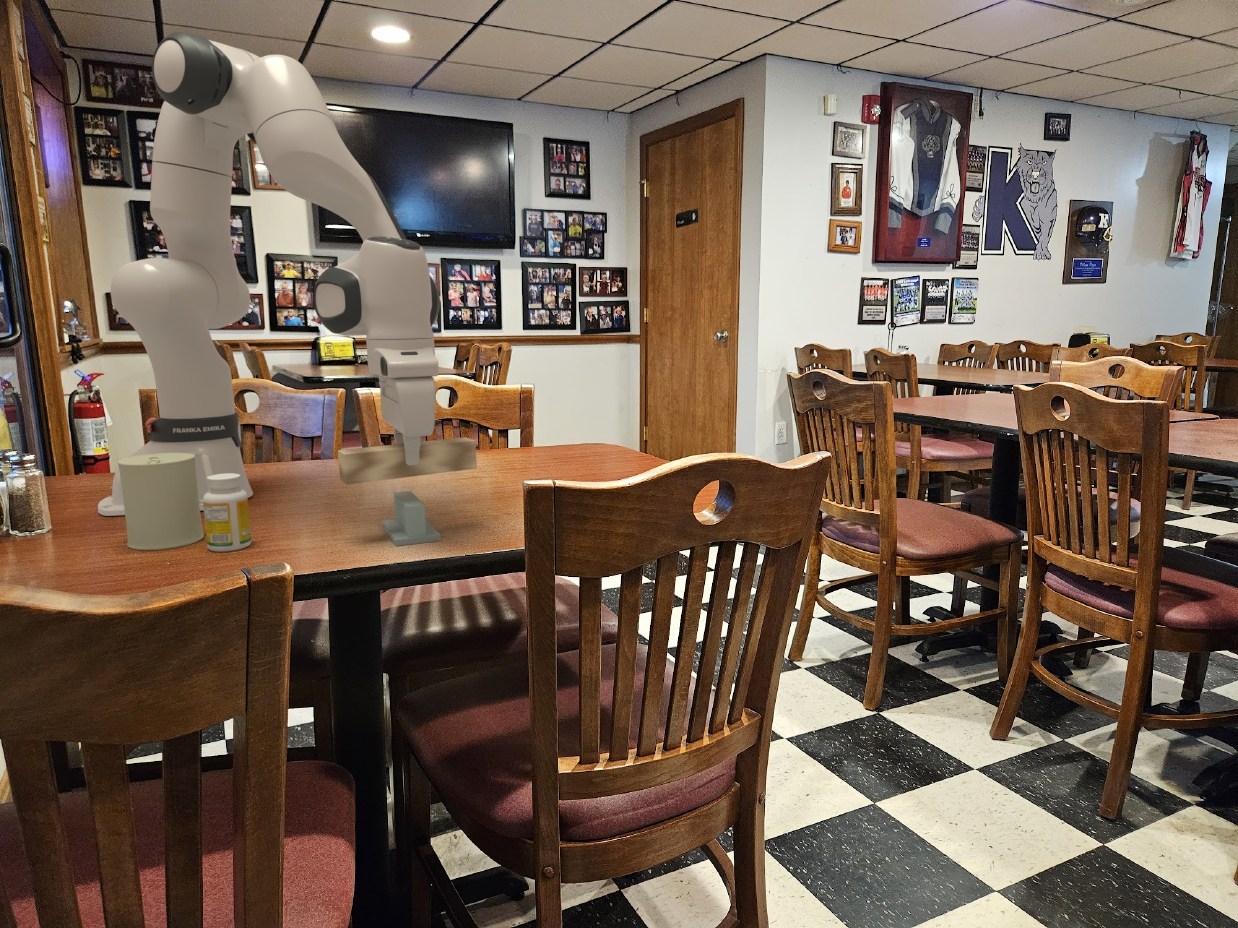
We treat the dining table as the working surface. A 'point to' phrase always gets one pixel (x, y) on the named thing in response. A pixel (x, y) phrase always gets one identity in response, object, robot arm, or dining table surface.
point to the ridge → (409, 521)
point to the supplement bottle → (226, 513)
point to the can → (160, 500)
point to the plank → (391, 462)
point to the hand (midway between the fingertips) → (408, 461)
